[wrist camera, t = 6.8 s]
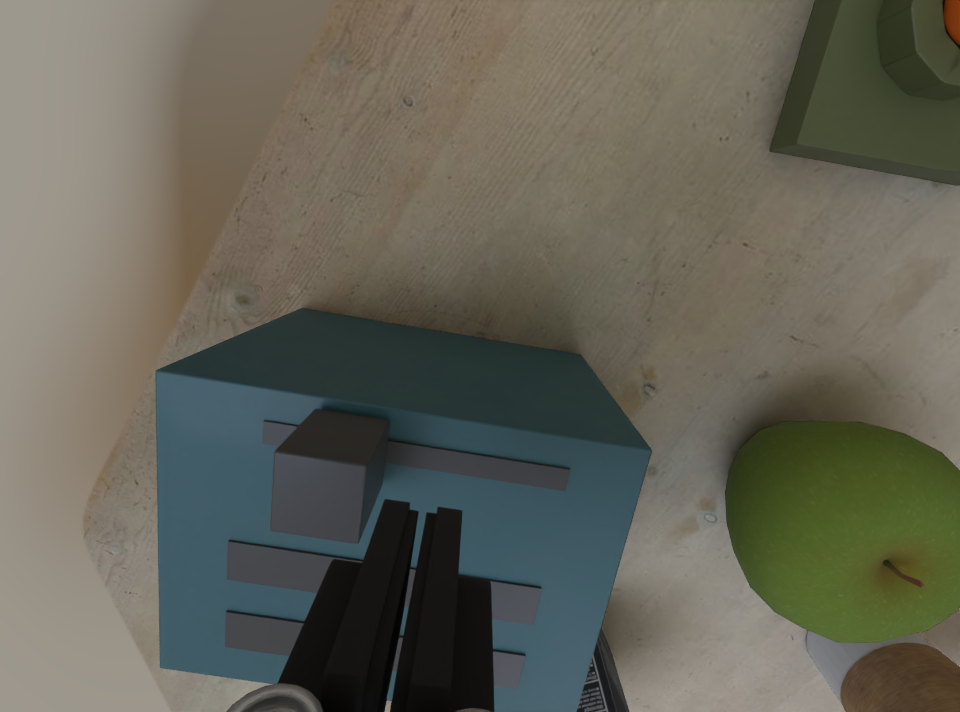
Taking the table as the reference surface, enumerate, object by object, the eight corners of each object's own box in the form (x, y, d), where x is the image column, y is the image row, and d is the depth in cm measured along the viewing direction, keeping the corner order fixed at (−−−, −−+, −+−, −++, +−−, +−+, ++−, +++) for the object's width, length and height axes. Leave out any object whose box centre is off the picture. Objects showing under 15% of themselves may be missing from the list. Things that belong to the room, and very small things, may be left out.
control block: (856, -139, 21) (941, -222, 17) (1072, -95, 21) (1203, -168, 17) (768, 151, 24) (823, 136, 20) (957, 185, 24) (1047, 177, 20)
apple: (663, 420, 28) (757, 522, 18) (844, 356, 27) (1047, 428, 17) (711, 566, 30) (815, 722, 21) (878, 513, 29) (1071, 653, 20)
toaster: (300, 307, 26) (152, 370, 15) (581, 354, 27) (654, 451, 15) (288, 495, 29) (157, 671, 18) (539, 534, 30) (573, 730, 18)
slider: (315, 407, 15) (272, 450, 12) (391, 419, 15) (367, 465, 12) (309, 475, 15) (268, 532, 12) (382, 486, 15) (358, 546, 13)
